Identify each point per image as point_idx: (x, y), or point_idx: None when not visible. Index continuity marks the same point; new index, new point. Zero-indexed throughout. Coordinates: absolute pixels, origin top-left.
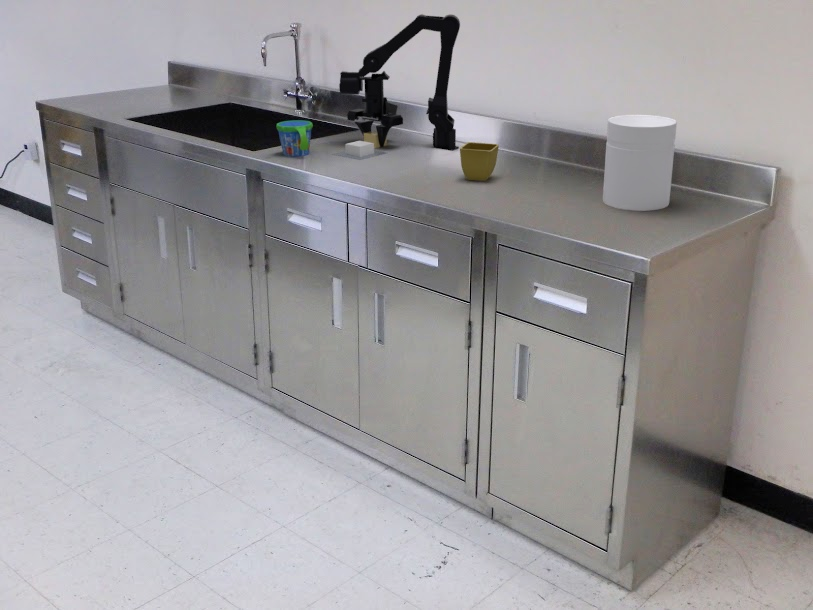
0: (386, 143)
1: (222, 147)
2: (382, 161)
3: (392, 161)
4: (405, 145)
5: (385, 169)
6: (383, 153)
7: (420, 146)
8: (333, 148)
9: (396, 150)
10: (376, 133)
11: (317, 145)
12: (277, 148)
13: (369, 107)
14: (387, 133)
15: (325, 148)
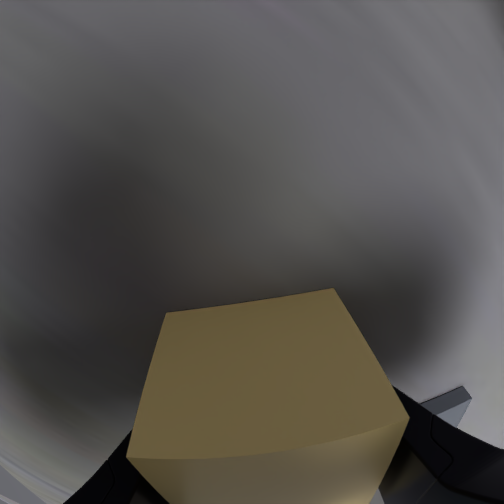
0: (352, 323)
1: (8, 500)
2: (469, 427)
3: (501, 398)
4: (360, 40)
5: (500, 435)
6: (455, 420)
7: (467, 15)
8: (89, 465)
9: (441, 267)
10: (320, 498)
11: (13, 447)
12: (36, 495)
13: None
14: (458, 432)
15: (77, 472)
